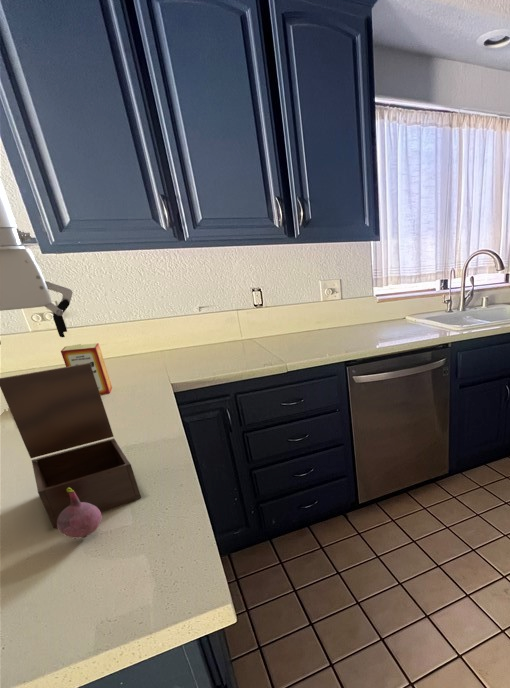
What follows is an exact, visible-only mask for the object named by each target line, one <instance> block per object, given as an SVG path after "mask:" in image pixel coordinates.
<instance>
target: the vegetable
mask: <svg viewBox="0 0 510 688" xmlns="http://www.w3.org/2000/svg"><path fill="white" fill-rule="evenodd" d="M68 489H69V490H68ZM66 490H67V492H69V496H70V499H71V504H70V506H68V507H67V508H65V509H64V510H63V511H62V512H61V513H60V515H59V517H58V519H57V527H56V528H57V529H58V531H59V532H60V533H61V534H63V535H64V536H65V537H69V538H75V539H76V538H79V539H85V538H88V537H89V536H90V535H91V534H93V533H94V532H95V531H96V530H97V529H98V528H99V526H100V525H101V522H102V512H100V510H99V509H98V508H97V507H96V506H94V505H92V504H90V503H85V502H80V501H79V499H78V497H77V495H76V494H75V492H74V490H72V489H71V488H67V489H66Z"/></svg>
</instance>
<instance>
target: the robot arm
mask: <svg viewBox="0 0 510 688" xmlns="http://www.w3.org/2000/svg"><path fill="white" fill-rule="evenodd" d="M18 227H19V226H18V225H17V221H16V219H15V216H14V214H13V211H12V208H11V204H10V201H9V199H8V195H7V193H6V190H5V187H4V184H3V181H2V178H1V177H0V312H2V311H13V310H23V309H34V308H41V307H42V308H43V307H45V308H46V309H47V310H49V311H51V312H52V318H53V322H54V324H55V327H56V331H57V334H58V336H59V337H60V338H66V336H65V333H68V329H67V326H66V323H65V319H64V316H63V315H64V313H65V312H66V310H67V309H68V308H69V306H70V304H71V300H72V297H73V290H72V289H70V288H68V287H65V286H62V285H59V284H56V283H53V282H50V281H47V280H45V277H44V275H43V273H42V270H41V267H40V266H39V263H38V261H37V259H36V257H35V255H34V253H33V251H32V250H31V249H30V248H26V247H25V245H24V244H25V243H27V242H32V241H33V238H32V235H31V233H30V232H25V231H22V230H19V228H18ZM49 290H50V291H52V292H56V293H58V294H61V296H62V297H61V300H60V302H59V303H58V304H57V305H56V304H54V303H53V302H52V299H51V294H50V291H49ZM1 345H2V341H1V340H0V346H1Z"/></svg>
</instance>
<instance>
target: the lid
mask: <svg viewBox="0 0 510 688" xmlns="http://www.w3.org/2000/svg"><path fill="white" fill-rule="evenodd" d="M0 390H1V393H2V394H3V395H2V396H3V397H4V399H5V402H6V404H7V407H8V409H9V411H10V413H11V416H12V418H13V420H14V423H15V425H16V427H17V430H18V432H19V435H20V438H21V439H22V442H23V444H24V446H25V448H26V451H27V453H28V456H29V458H30V459H36V458H39V457H43V456H47V455H51V454H55V453H58V452H60V451H61V452H62V451H66V450H70V449H74V448H77V447H81V446H85V445H89V444H93V443H96V442H100V441H104V440H108V439H112V438H114V437H115V436H114V433H113V431H112V426H111V424H110V420H109V418H108V414H107V411H106V409H105V405H104V402H103V399H102V395H100V393H99V389H98V386H97V383H96V380H95V377H94V374H93V371H92V368H91V365H90V363H86V364H80V365H74V366H69V367H66V366H64V367H63V366H62V367H58V368H52V369H46V370H40V371H33V372H30V373H28V372H27V373H22V374H16V375H9V376H4V377H0Z"/></svg>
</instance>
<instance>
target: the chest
mask: <svg viewBox="0 0 510 688" xmlns="http://www.w3.org/2000/svg"><path fill="white" fill-rule="evenodd" d="M31 464H32V469H33V473H34V474H33V475H34V479H35V484H36V489H37V493H38V496H39V498H40V500H41V502H42V505H43V507H44V509H45V512H46V514H47V516H48V518H49V521H50V523H51V526H52V528H53V529H55V528H58V527H57V519H58V517H59V515H60V513H61V512H62V511H63V510H64V509H65V508H67V507H68V506H70V504H71V499H70V496H69V492H67V490H66V489H67V488H71V489H72V490H74V492H75V494H76V495H77V497H78V499H79V501H80V502H85V503H90V504H92V505H94V506H96V507H97V508H98V509H99V510H100V512H101V513H102V512H104V511H108V510H110V509H113V508H116V507H119V506H122V505H125V504H128V503H130V502H134V501H136V500H139V499H141V498H142V496H141V492H140V489H139V486H138V483H137V480H136V479H137V478H136V476H135V473H134V470H133V466H132V464H131V462H130V460H129V459H128V457H127V456H126V454H125V453H124V451H123V450H122V448H121V446H120V445H119V444H118V441H117V440H116V439H115V438H114V437H112V438H108V439H104V440H100V441H97V442H93V443H89V444H85V445H82V446H78V447H74V448H70V449H66V450H63V451H61V452H60V451H59V452H55V453H51V454H48V455H44V456H40V457H36V458H33V459H31ZM68 490H69V489H68Z"/></svg>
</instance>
